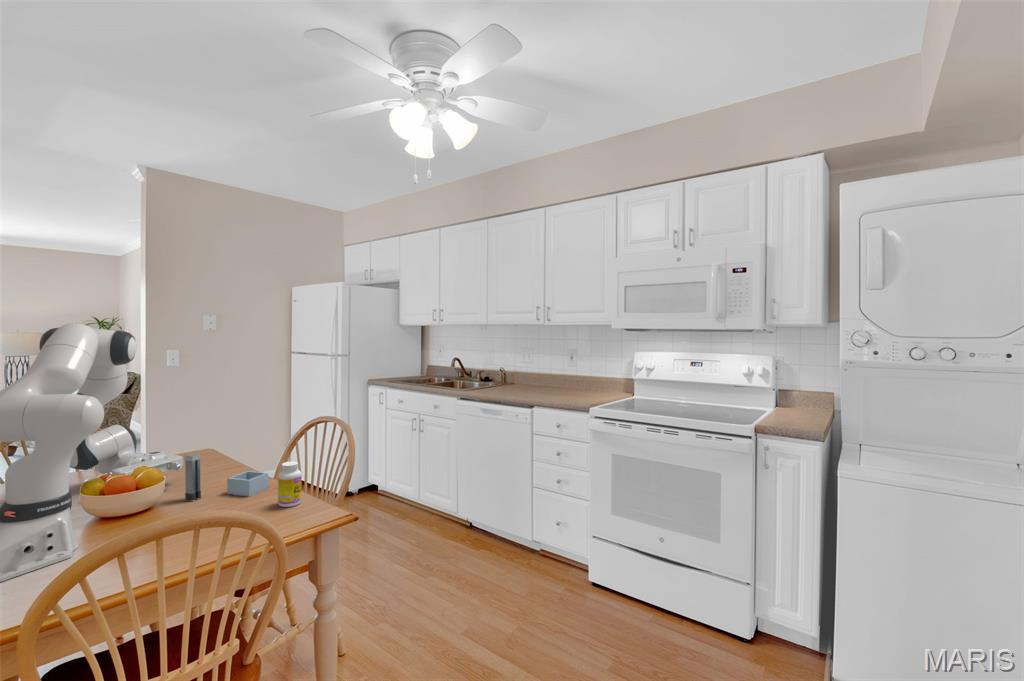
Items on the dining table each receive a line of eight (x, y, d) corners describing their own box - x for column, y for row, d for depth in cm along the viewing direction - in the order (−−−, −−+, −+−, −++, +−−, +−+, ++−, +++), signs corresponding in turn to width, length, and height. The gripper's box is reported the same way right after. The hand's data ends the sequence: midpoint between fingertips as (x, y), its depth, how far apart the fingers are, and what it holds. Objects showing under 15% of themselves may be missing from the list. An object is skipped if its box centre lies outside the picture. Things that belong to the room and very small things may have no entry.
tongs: (192, 501, 153) (192, 456, 152) (185, 500, 154) (184, 455, 153) (201, 498, 156) (200, 453, 155) (193, 497, 156) (193, 453, 156)
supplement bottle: (295, 508, 149) (295, 466, 148) (274, 507, 149) (273, 466, 148) (305, 500, 155) (304, 460, 155) (284, 499, 155) (284, 460, 155)
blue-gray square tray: (249, 496, 158) (249, 480, 157) (227, 494, 160) (227, 478, 159) (268, 488, 166) (268, 472, 166) (247, 485, 168) (247, 470, 168)
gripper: (101, 466, 153) (131, 470, 148) (165, 450, 172) (194, 454, 168) (101, 485, 153) (132, 491, 149) (166, 467, 172) (194, 471, 168)
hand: (165, 471), depth 158 cm, fingers open, 8 cm apart
